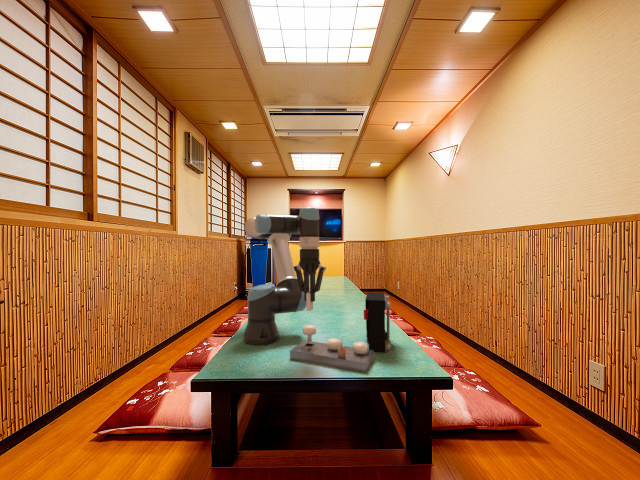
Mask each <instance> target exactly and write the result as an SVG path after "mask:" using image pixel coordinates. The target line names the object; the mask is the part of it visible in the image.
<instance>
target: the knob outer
mask: <svg viewBox="0 0 640 480" xmlns="http://www.w3.org/2000/svg"><path fill="white" fill-rule="evenodd" d="M352 345H353V346H352V347H353V351H354V352H355V353H358V354H362V355H363V354H365V353H367V352H368V350H369V343H367V342H365V341H355V342H353V344H352Z"/></svg>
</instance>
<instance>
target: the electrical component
mask: <svg viewBox="0 0 640 480" xmlns="http://www.w3.org/2000/svg"><path fill="white" fill-rule="evenodd" d="M364 301H365V302H364V303H365V305H364V306H365V309H363V320H365V326H366V328H365V329H366V335H365V337H366V341H368V350H374V353H377V354H386V353H387V352H388V350H391V349H392V347H391V343H390V341H391V340H390V337H391V336H390V307H391V302H390V295H387V294H386V293H384V292H369V291H368V292H366V297H365V300H364ZM385 314H386V315H385Z"/></svg>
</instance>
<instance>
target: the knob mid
mask: <svg viewBox="0 0 640 480" xmlns="http://www.w3.org/2000/svg"><path fill="white" fill-rule="evenodd" d="M326 341H327V342H326V343H327V348H328V349H331V350H337V349H338V347H340V342H341V339H339V338H338V337H337V338H336V337H334V338H333V337H331V338H328V339H326Z"/></svg>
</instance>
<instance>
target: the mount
mask: <svg viewBox="0 0 640 480" xmlns="http://www.w3.org/2000/svg"><path fill="white" fill-rule="evenodd" d="M343 347H345V358H339V357H338V349H337V350H331V349H328V348H327V342H326V343H325V342H320V341H318V342H317V341H311V342H308V341H307V340H303V341H302V342H300V343H299V344H297V345H296V346H294V347H293V348H291V349H290V350H289V359H290V360H295V361H299V362H300V361H301V362H306V363H311V364H317V365H323V366H329V367H334V368H339V369H345V370H352V371H356V372H362V373H367V372H368V370H369V368H370V366H371V365H372V363H373V362H374V360H375V352H374V350H369V349H368V352H367V353H365V354H363V355H362V354H358V353H355V352H354V351H353V346H346V345H343Z"/></svg>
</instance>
